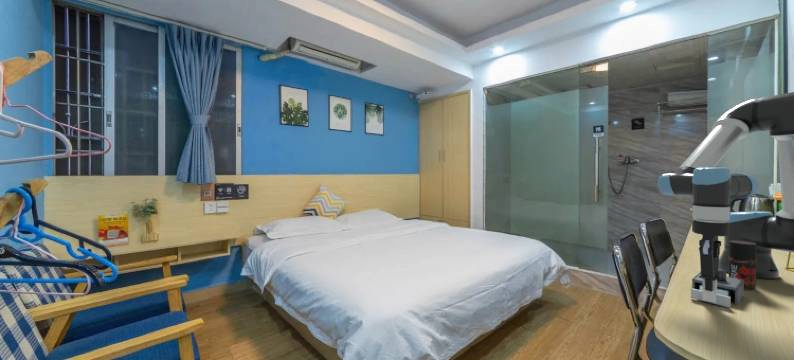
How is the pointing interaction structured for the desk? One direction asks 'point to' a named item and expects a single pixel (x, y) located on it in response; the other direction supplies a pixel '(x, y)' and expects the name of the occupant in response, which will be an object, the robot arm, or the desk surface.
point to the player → (724, 284)
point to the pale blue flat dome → (718, 290)
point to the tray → (720, 301)
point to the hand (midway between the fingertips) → (709, 300)
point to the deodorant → (743, 262)
